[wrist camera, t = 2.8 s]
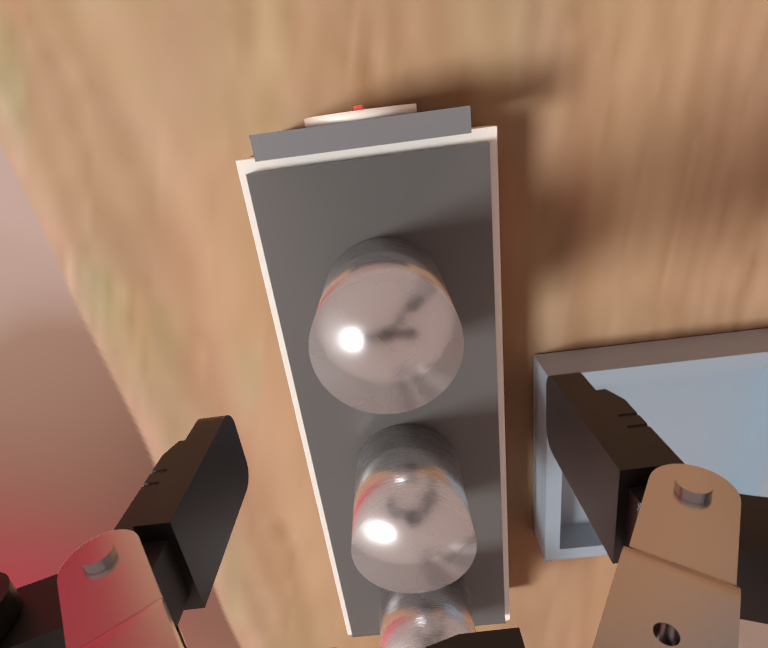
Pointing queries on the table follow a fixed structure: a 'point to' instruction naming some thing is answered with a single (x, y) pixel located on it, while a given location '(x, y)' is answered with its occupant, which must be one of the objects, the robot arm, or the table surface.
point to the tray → (660, 419)
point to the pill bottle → (753, 634)
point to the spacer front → (385, 328)
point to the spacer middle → (410, 511)
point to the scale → (460, 275)
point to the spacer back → (424, 616)
